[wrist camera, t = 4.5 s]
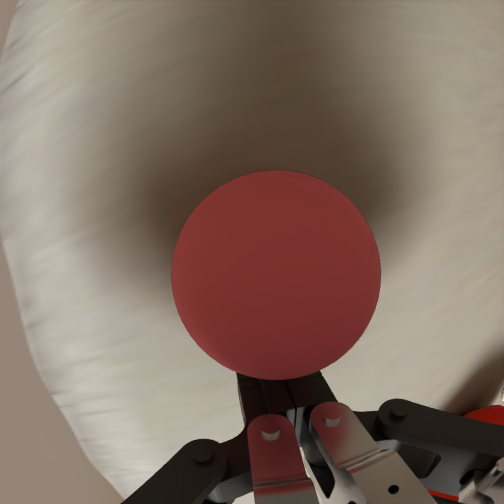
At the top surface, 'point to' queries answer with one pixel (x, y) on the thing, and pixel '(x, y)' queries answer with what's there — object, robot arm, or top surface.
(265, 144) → the top surface
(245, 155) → the top surface
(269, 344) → the ball
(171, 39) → the top surface
